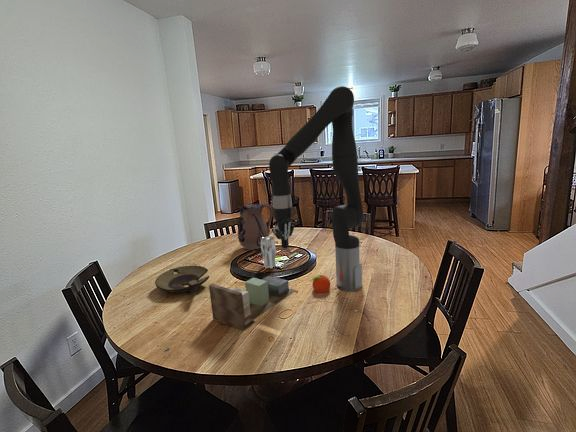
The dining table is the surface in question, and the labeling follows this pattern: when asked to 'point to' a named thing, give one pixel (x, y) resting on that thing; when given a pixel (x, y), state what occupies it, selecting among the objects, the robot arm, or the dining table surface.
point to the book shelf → (238, 306)
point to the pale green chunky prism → (257, 291)
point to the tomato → (321, 283)
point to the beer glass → (268, 251)
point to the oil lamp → (181, 279)
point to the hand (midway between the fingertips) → (285, 247)
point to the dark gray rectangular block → (277, 286)
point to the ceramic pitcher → (253, 225)
